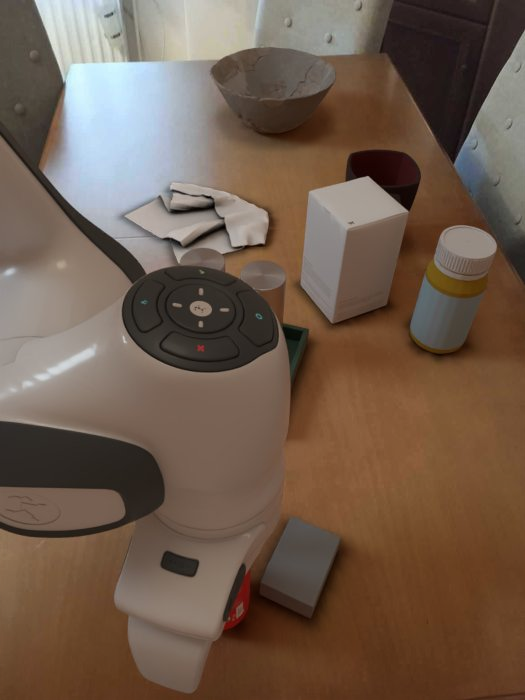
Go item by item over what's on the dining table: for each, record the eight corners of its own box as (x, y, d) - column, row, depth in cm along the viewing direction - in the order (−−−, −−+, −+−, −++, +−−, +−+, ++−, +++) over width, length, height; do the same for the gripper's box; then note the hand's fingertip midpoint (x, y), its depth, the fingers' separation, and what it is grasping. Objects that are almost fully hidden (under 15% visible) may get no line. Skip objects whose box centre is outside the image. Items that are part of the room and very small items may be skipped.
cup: (394, 219, 94) (410, 148, 85) (416, 276, 85) (436, 203, 76) (332, 220, 94) (342, 149, 85) (347, 278, 84) (360, 205, 75)
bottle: (451, 364, 73) (489, 269, 62) (399, 341, 76) (426, 246, 65) (471, 331, 77) (509, 236, 66) (421, 310, 80) (449, 215, 69)
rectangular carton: (389, 306, 80) (412, 211, 69) (331, 326, 77) (347, 230, 66) (352, 267, 86) (369, 173, 75) (298, 284, 83) (307, 189, 72)
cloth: (283, 249, 88) (284, 236, 86) (134, 270, 84) (131, 256, 82) (251, 177, 101) (251, 164, 100) (120, 191, 97) (118, 178, 96)
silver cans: (180, 346, 73) (172, 270, 65) (195, 319, 77) (189, 243, 68) (274, 369, 71) (279, 294, 62) (285, 341, 74) (291, 265, 66)
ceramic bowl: (350, 115, 118) (357, 63, 111) (293, 166, 104) (297, 110, 97) (254, 88, 125) (255, 37, 118) (189, 132, 112) (186, 77, 104)
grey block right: (258, 594, 54) (259, 582, 52) (289, 528, 58) (291, 515, 56) (310, 619, 52) (313, 607, 50) (337, 550, 57) (341, 537, 55)
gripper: (222, 361, 46) (227, 458, 56) (97, 628, 33) (134, 693, 43) (302, 380, 45) (292, 476, 55) (206, 665, 31) (217, 723, 42)
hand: (222, 573), depth 49 cm, fingers open, 8 cm apart
